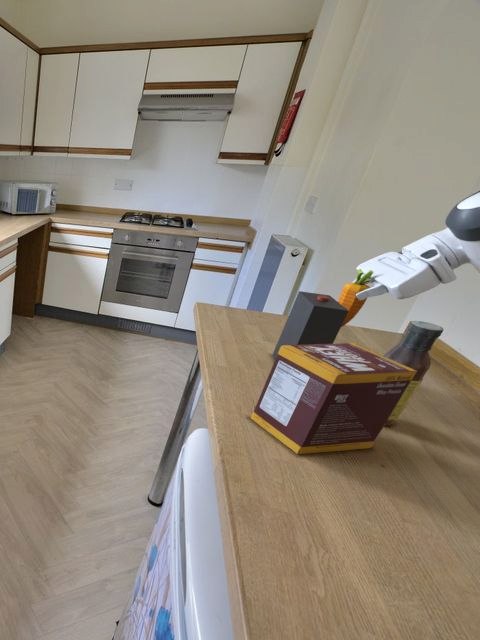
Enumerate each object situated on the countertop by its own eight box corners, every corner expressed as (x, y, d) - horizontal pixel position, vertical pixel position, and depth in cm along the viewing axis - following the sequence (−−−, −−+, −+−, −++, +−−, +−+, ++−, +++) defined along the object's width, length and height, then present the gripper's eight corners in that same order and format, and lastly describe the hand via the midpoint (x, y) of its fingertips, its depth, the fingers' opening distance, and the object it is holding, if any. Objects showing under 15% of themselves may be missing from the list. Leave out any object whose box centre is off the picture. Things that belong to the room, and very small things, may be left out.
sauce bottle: (353, 404, 84) (403, 314, 75) (395, 418, 80) (452, 324, 71) (350, 416, 79) (402, 323, 71) (393, 432, 75) (454, 334, 67)
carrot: (325, 322, 105) (351, 265, 99) (350, 327, 103) (379, 269, 96) (326, 327, 102) (354, 269, 95) (352, 333, 99) (382, 273, 93)
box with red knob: (357, 371, 97) (395, 300, 89) (379, 393, 88) (422, 317, 80) (272, 355, 103) (300, 287, 95) (283, 374, 94) (315, 301, 86)
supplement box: (372, 448, 71) (419, 370, 64) (297, 455, 68) (338, 374, 61) (317, 413, 80) (353, 341, 73) (249, 418, 77) (280, 344, 71)
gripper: (395, 239, 100) (329, 272, 107) (444, 257, 82) (361, 295, 90) (409, 260, 100) (342, 291, 108) (461, 282, 83) (377, 317, 90)
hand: (351, 293), depth 99 cm, fingers closed on carrot, 5 cm apart
